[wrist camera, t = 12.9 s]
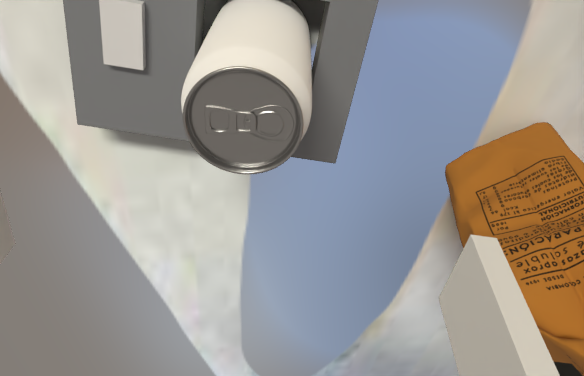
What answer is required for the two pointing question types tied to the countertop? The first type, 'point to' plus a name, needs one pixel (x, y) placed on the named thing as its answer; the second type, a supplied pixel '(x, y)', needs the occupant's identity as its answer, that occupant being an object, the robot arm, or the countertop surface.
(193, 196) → the countertop surface
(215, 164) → the can
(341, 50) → the socket plate
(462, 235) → the coffee package
